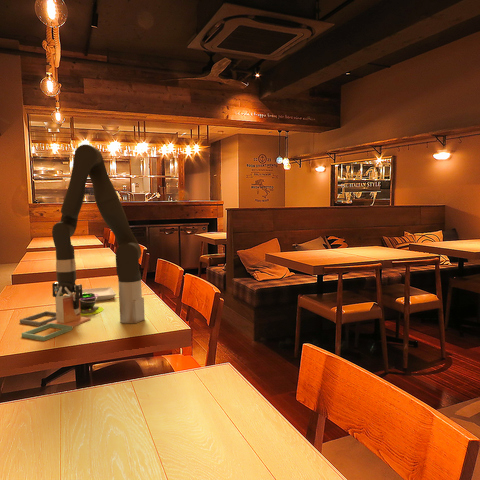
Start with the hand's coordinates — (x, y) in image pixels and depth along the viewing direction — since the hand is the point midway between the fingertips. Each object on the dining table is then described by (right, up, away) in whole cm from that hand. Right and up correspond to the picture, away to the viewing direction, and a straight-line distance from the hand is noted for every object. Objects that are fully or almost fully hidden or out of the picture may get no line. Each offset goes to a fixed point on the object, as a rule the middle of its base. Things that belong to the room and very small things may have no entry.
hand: (68, 308), depth 167 cm
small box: (0, -6, +1) cm, 6 cm away
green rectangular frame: (-2, -8, -13) cm, 15 cm away
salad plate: (-5, -2, +42) cm, 43 cm away
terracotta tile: (0, -6, +1) cm, 6 cm away
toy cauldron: (+1, -5, +18) cm, 18 cm away
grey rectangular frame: (-13, -6, +4) cm, 14 cm away
